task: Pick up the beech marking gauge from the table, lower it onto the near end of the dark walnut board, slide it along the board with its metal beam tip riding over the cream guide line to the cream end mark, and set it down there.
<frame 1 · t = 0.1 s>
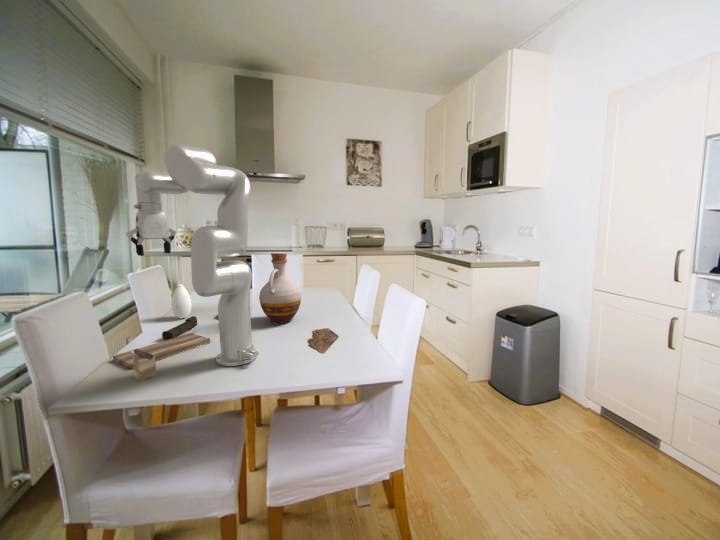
hand: (154, 254, 129), 31 cm above the table, tool pointing down, fingers open, 9 cm apart
board: (165, 351, 116), on the table
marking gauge: (145, 376, 98), on the table
hand tool: (181, 333, 135), on the table
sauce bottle: (182, 318, 154), on the table
jug: (280, 321, 149), on the table
wooden fragment: (323, 341, 126), on the table
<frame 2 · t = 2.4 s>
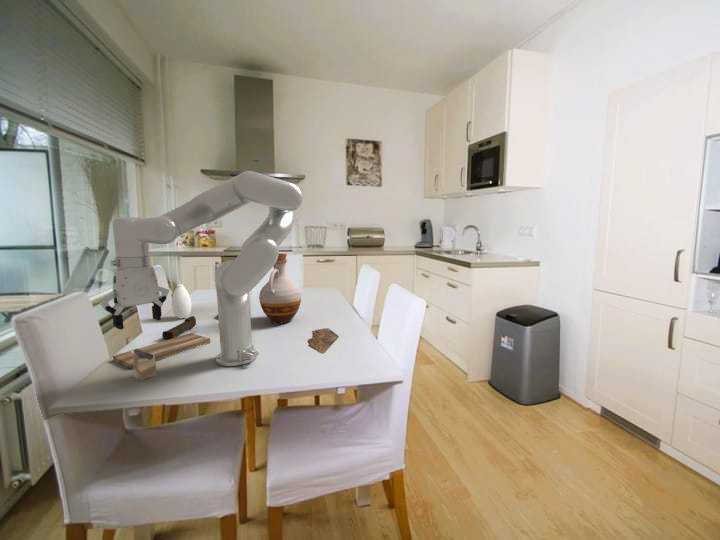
hand: (139, 323, 95), 16 cm above the table, tool pointing down, fingers open, 9 cm apart
nothing on the table moved.
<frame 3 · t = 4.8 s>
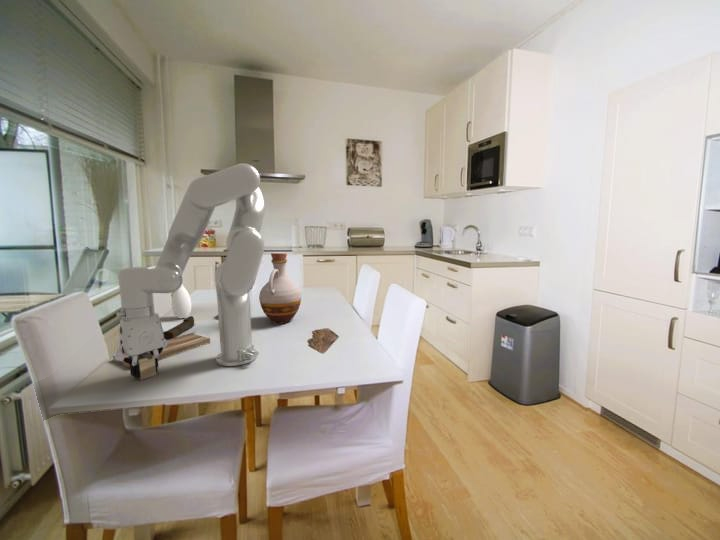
hand: (145, 373, 97), 1 cm above the table, tool pointing down, fingers closed on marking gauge, 4 cm apart
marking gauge: (145, 376, 98), on the table, touching gripper
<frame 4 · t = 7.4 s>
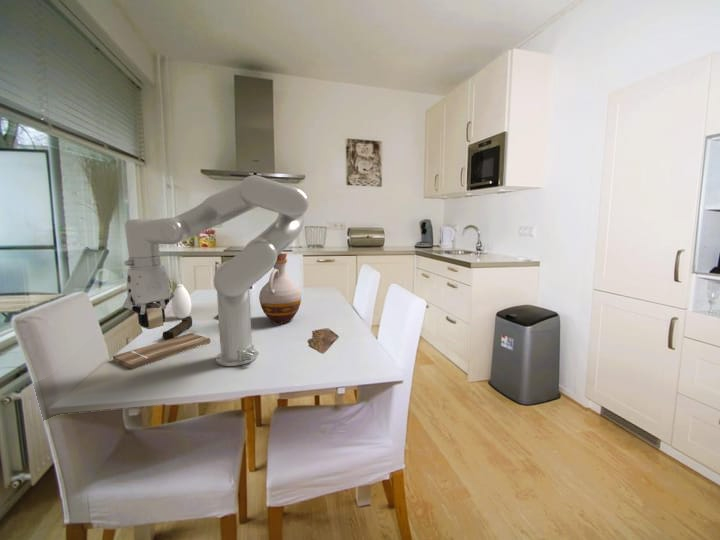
hand: (152, 323, 100), 14 cm above the table, tool pointing down, fingers closed on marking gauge, 4 cm apart
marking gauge: (152, 326, 100), point 13 cm above the table, touching gripper
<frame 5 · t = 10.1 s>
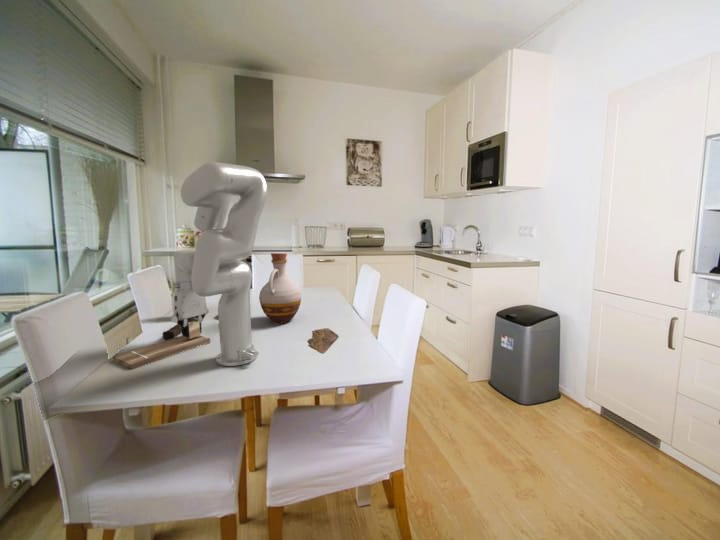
hand: (192, 334, 124), 3 cm above the table, tool pointing down, fingers closed on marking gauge, 4 cm apart
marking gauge: (191, 336, 124), point 2 cm above the table, touching gripper
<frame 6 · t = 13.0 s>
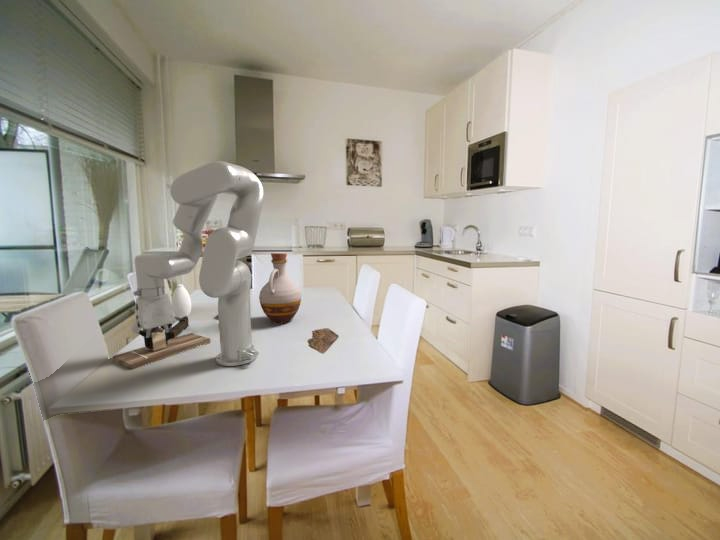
hand: (157, 345, 113), 3 cm above the table, tool pointing down, fingers closed on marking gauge, 4 cm apart
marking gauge: (157, 347, 114), point 2 cm above the table, touching gripper
when the fingers open (3 cm above the table, at t = 15.5 s): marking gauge stays where it is, resting on board.
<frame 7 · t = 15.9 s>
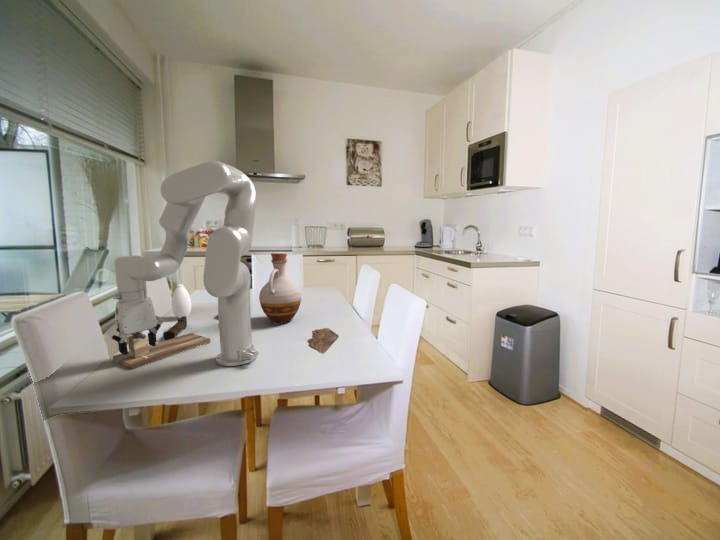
hand: (138, 349, 109), 3 cm above the table, tool pointing down, fingers open, 7 cm apart
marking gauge: (139, 354, 109), point 2 cm above the table, touching board
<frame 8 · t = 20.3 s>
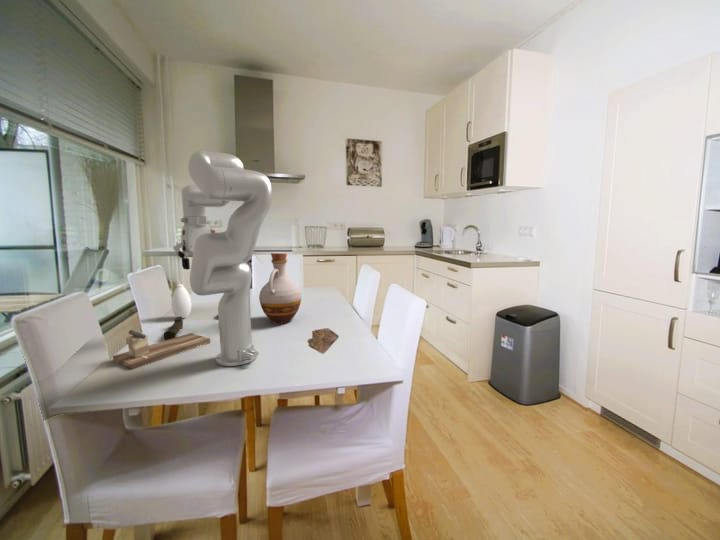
hand: (198, 267, 128), 26 cm above the table, tool pointing down, fingers open, 9 cm apart
at the end: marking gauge 0.1 cm from the target spot on the board, point 1.6 cm above the board's base; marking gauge tilted 0°; the gripper is holding nothing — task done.
